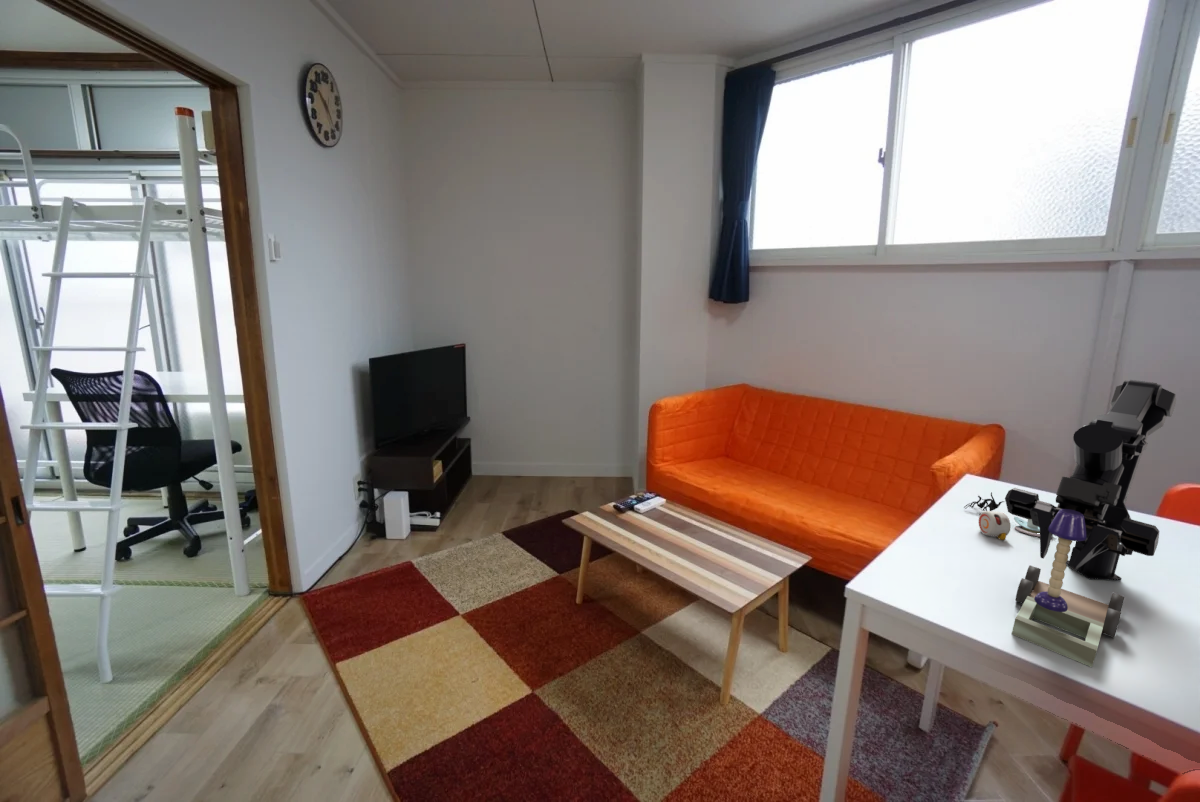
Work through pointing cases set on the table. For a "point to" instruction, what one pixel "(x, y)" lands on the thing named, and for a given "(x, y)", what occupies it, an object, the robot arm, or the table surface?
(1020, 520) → the pacifier
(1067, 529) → the toy lamp
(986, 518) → the roller toy
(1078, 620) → the chassis
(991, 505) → the creature
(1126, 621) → the table surface
